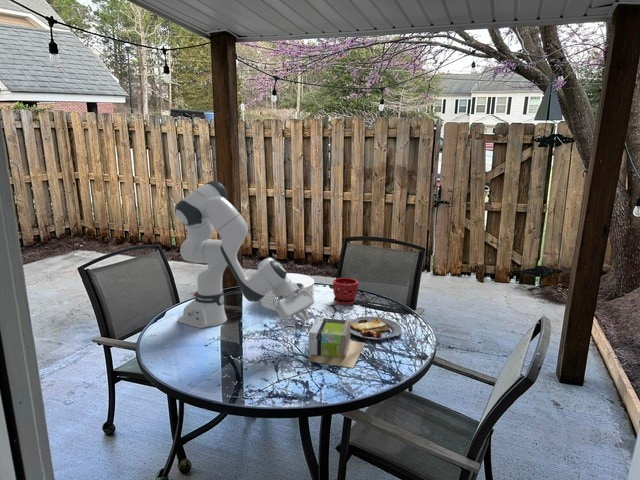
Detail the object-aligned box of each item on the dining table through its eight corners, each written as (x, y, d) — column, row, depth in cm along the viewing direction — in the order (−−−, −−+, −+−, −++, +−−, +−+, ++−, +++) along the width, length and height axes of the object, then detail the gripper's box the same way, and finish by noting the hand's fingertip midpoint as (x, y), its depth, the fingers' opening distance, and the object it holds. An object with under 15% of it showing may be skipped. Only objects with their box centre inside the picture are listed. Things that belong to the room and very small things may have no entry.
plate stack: (319, 295, 243) (319, 275, 241) (306, 313, 216) (306, 291, 214) (271, 291, 249) (271, 271, 247) (253, 308, 223) (252, 286, 220)
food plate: (360, 346, 182) (361, 338, 181) (336, 325, 203) (336, 318, 202) (411, 337, 192) (411, 330, 191) (383, 319, 213) (383, 312, 212)
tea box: (308, 355, 173) (345, 359, 170) (308, 331, 171) (345, 335, 168) (316, 338, 188) (350, 341, 185) (316, 316, 186) (351, 319, 182)
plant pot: (358, 306, 226) (359, 284, 223) (332, 306, 226) (333, 284, 224) (356, 298, 239) (357, 277, 236) (332, 297, 239) (332, 276, 236)
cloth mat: (307, 360, 169) (307, 360, 169) (324, 337, 190) (324, 336, 190) (352, 368, 164) (352, 367, 164) (365, 343, 184) (365, 342, 184)
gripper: (275, 296, 169) (296, 325, 166) (304, 282, 186) (324, 308, 183) (266, 304, 172) (287, 333, 169) (295, 290, 189) (315, 316, 186)
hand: (306, 320), depth 176 cm, fingers closed
